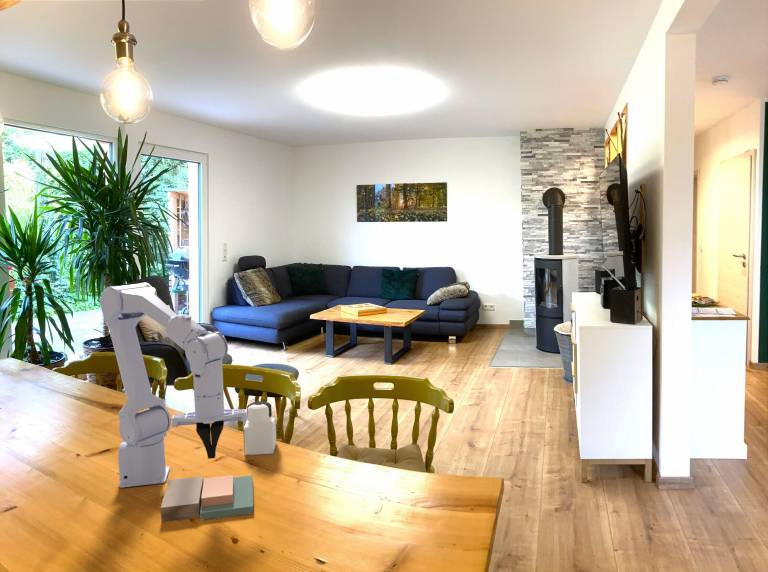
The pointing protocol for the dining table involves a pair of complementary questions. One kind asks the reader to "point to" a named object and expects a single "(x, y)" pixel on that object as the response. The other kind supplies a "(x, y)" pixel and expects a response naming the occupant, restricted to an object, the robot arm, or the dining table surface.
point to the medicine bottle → (259, 429)
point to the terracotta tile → (217, 491)
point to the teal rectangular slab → (240, 501)
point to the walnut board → (182, 499)
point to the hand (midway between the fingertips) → (211, 456)
